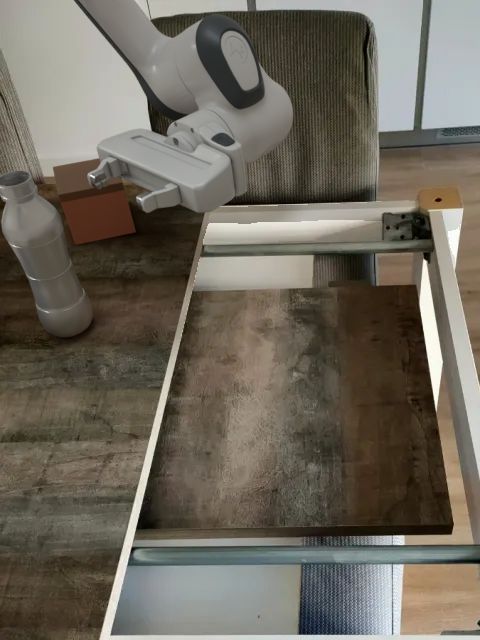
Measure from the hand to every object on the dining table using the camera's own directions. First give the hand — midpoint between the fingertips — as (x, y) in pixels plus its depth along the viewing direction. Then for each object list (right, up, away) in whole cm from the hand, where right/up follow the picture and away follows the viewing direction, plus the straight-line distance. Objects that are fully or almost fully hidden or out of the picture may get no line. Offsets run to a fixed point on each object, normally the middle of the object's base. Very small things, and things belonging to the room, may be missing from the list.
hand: (115, 193), depth 80 cm
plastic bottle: (-7, -16, +4) cm, 18 cm away
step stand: (-9, +3, +21) cm, 23 cm away
